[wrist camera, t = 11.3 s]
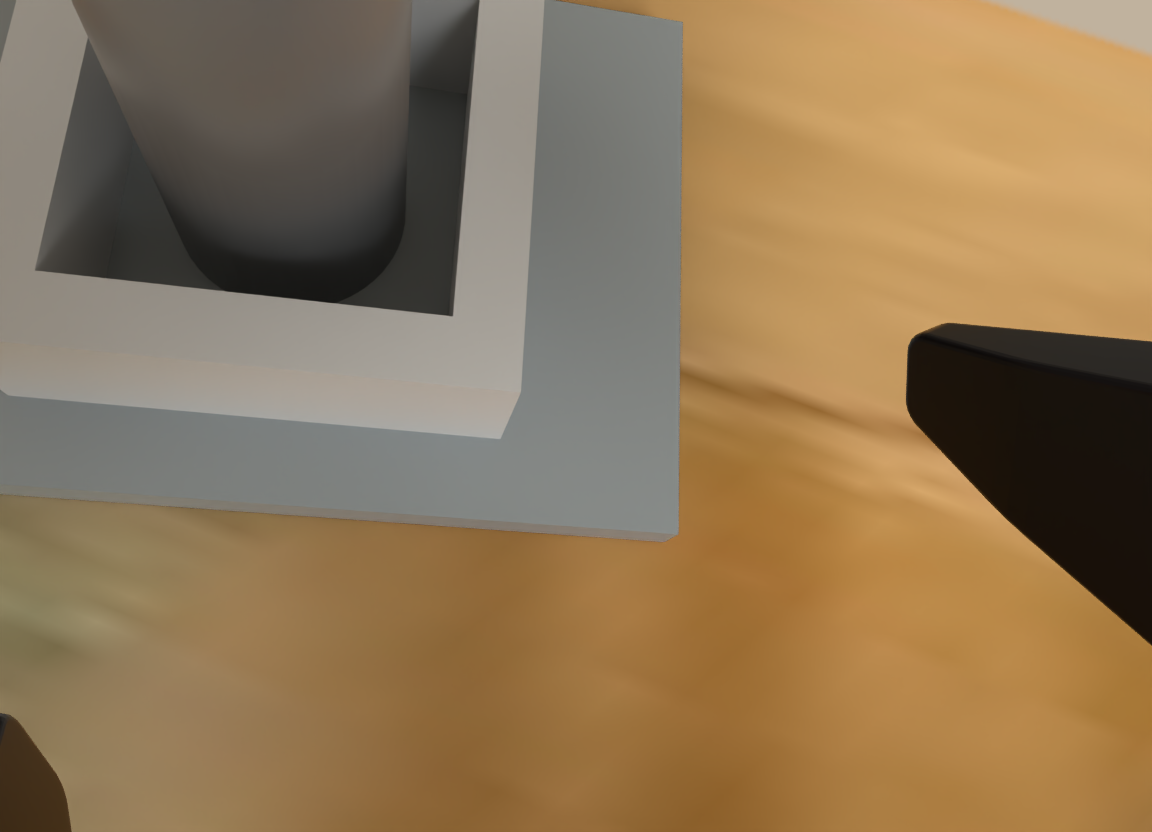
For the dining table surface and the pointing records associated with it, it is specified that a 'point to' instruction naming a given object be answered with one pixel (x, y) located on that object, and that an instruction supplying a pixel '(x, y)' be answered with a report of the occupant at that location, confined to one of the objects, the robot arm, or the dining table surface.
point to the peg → (269, 132)
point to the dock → (365, 296)
